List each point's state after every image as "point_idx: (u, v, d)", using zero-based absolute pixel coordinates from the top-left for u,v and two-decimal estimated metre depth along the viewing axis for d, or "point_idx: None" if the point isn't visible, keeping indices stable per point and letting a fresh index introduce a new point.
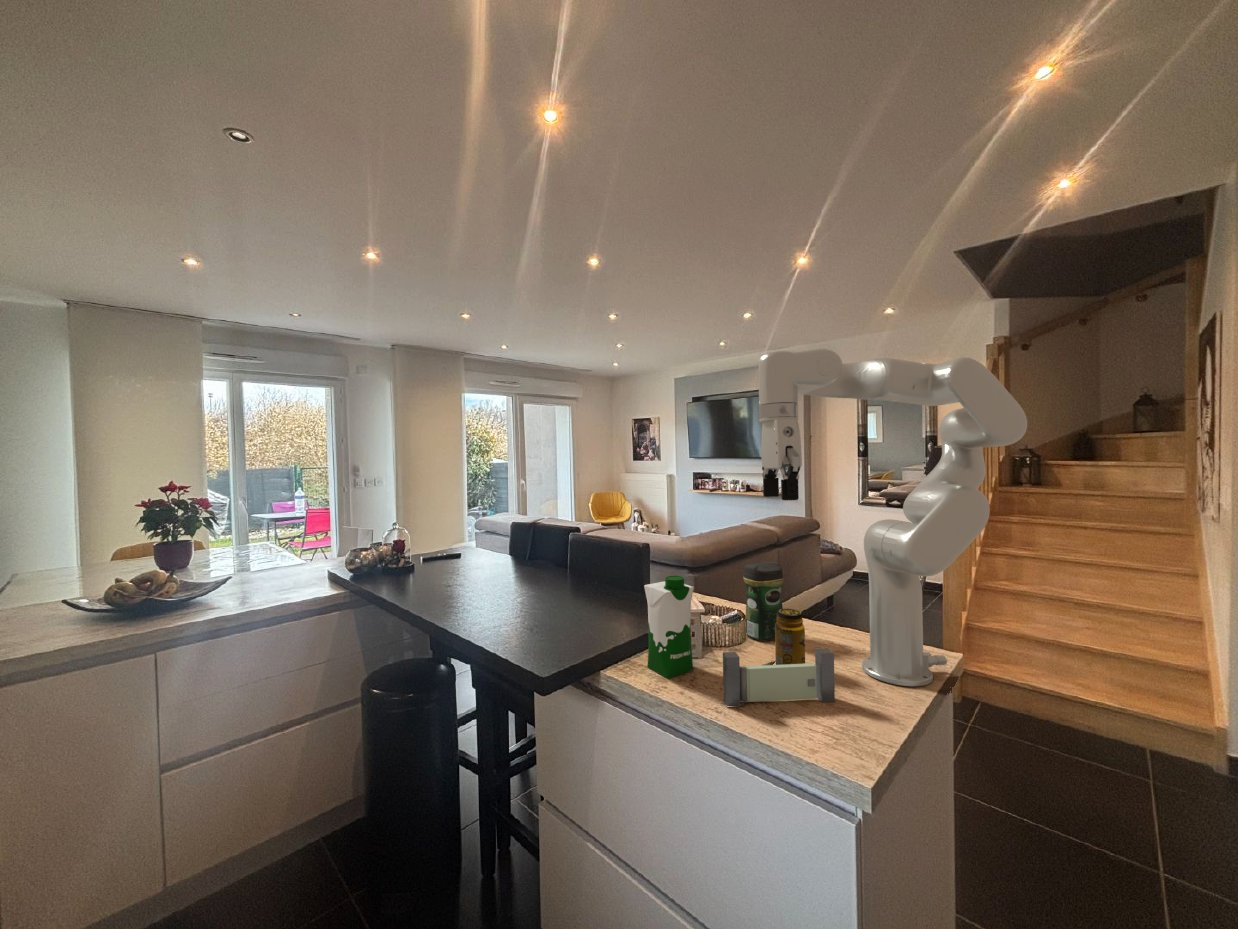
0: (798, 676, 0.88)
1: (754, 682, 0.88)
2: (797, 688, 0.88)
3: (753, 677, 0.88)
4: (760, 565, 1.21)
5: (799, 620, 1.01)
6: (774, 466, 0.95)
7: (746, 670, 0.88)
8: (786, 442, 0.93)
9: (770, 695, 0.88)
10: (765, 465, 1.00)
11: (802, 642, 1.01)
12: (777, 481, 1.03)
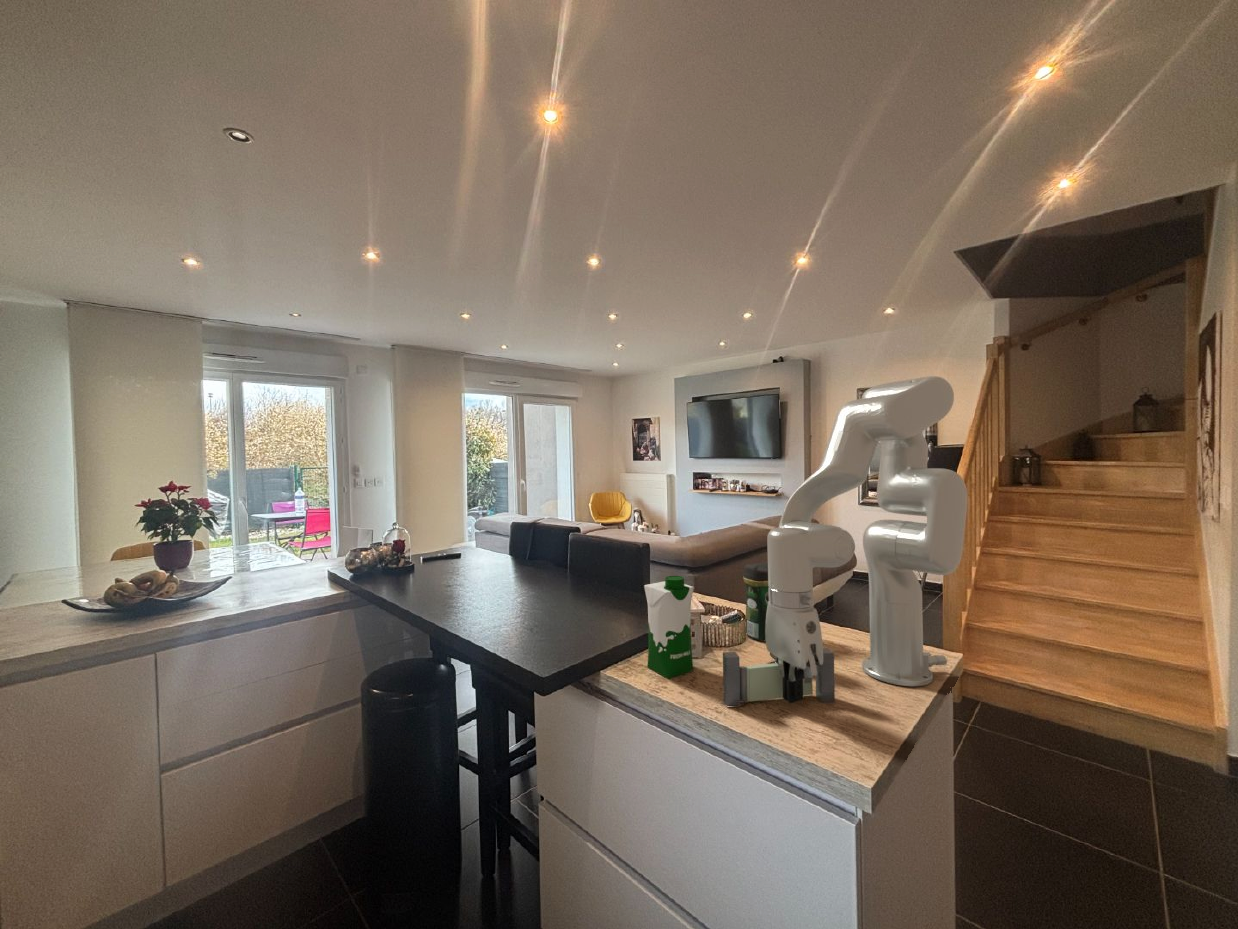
0: None
1: (754, 681, 0.88)
2: None
3: (753, 676, 0.88)
4: (760, 565, 1.21)
5: None
6: (793, 664, 0.83)
7: (746, 670, 0.88)
8: (810, 641, 0.82)
9: (769, 693, 0.89)
10: (774, 653, 0.88)
11: None
12: None
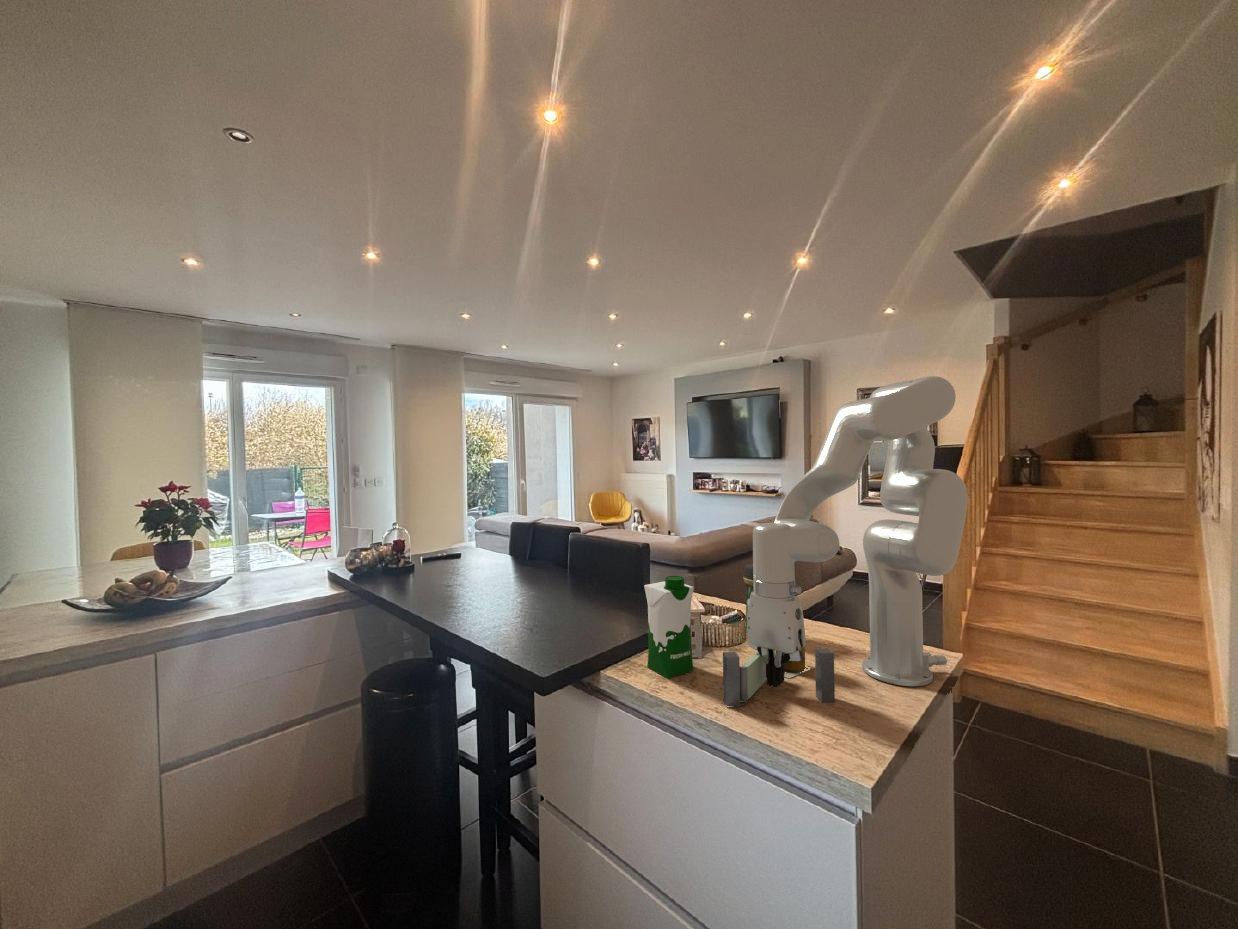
0: None
1: (750, 678, 0.90)
2: (765, 670, 0.96)
3: (749, 673, 0.90)
4: None
5: None
6: (782, 650, 0.89)
7: (746, 669, 0.89)
8: (798, 626, 0.88)
9: (756, 685, 0.92)
10: (758, 642, 0.92)
11: None
12: None
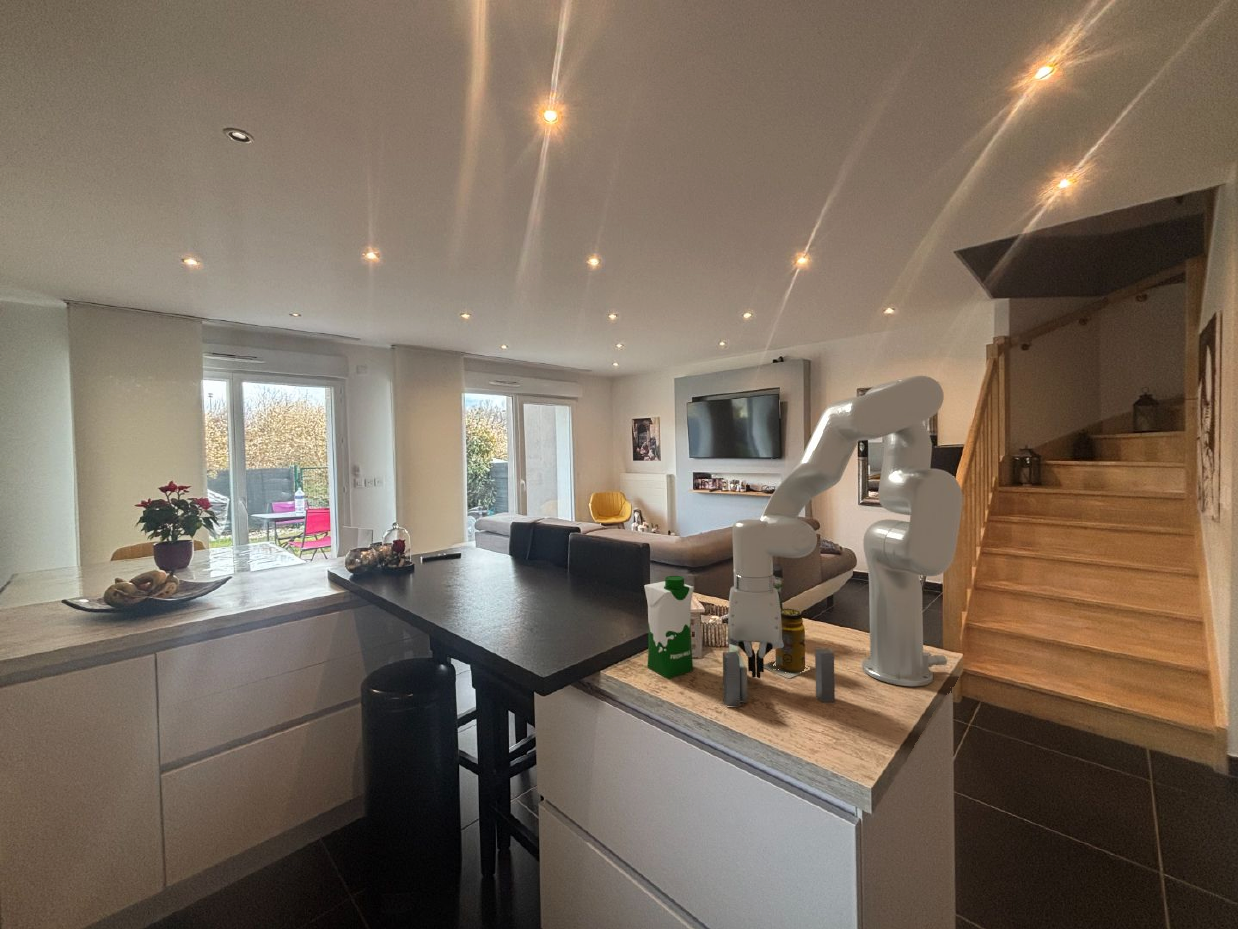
0: None
1: None
2: None
3: None
4: None
5: (798, 620, 1.01)
6: (768, 640, 0.93)
7: None
8: (780, 615, 0.94)
9: None
10: (743, 638, 0.94)
11: (802, 642, 1.01)
12: None
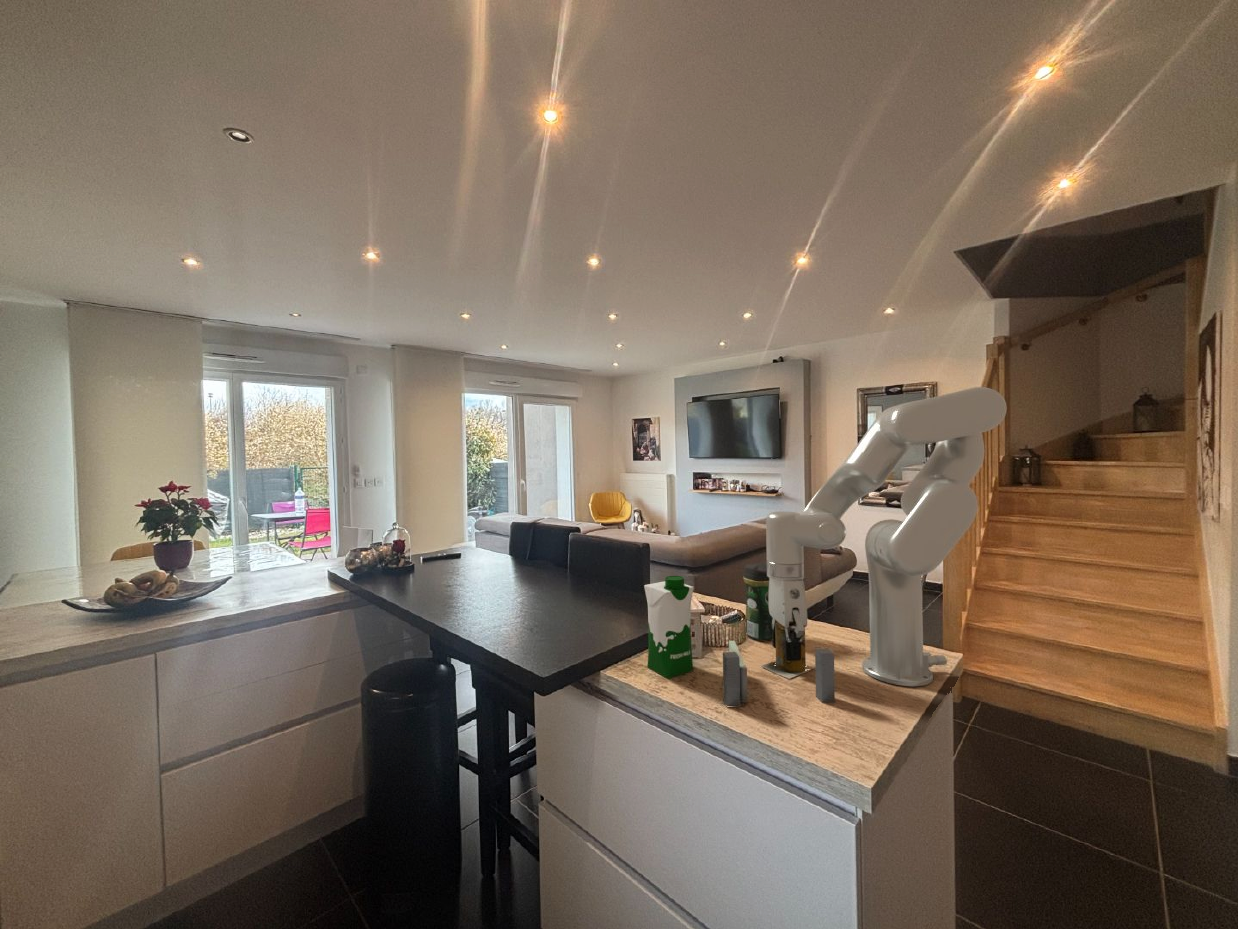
0: None
1: None
2: None
3: None
4: (760, 565, 1.21)
5: None
6: (781, 623, 1.01)
7: None
8: (793, 604, 0.98)
9: None
10: (772, 615, 1.05)
11: (802, 642, 1.01)
12: None
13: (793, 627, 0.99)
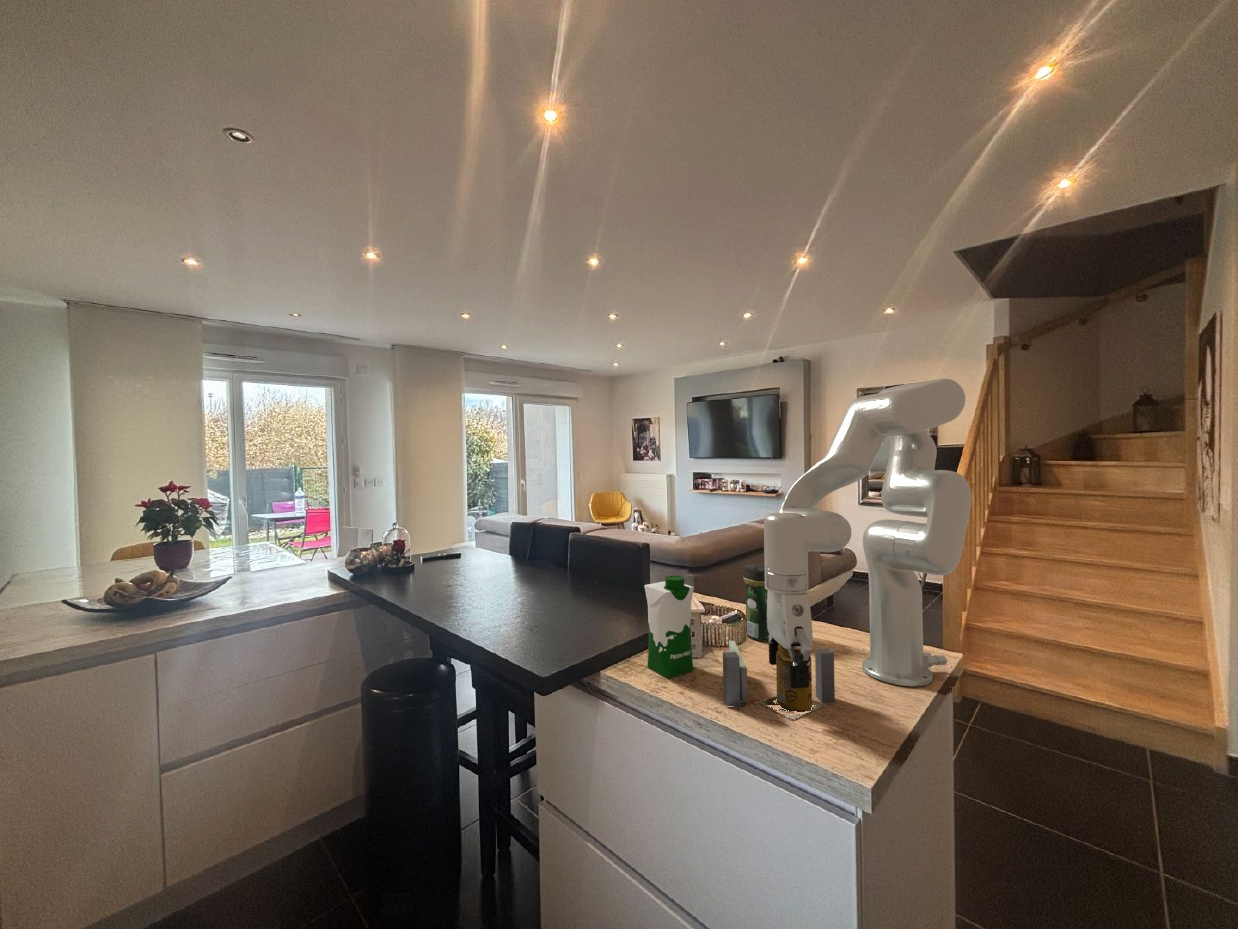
0: None
1: None
2: None
3: None
4: (760, 565, 1.21)
5: None
6: (781, 644, 0.85)
7: None
8: (796, 623, 0.83)
9: None
10: (771, 634, 0.90)
11: None
12: None
13: (798, 647, 0.83)
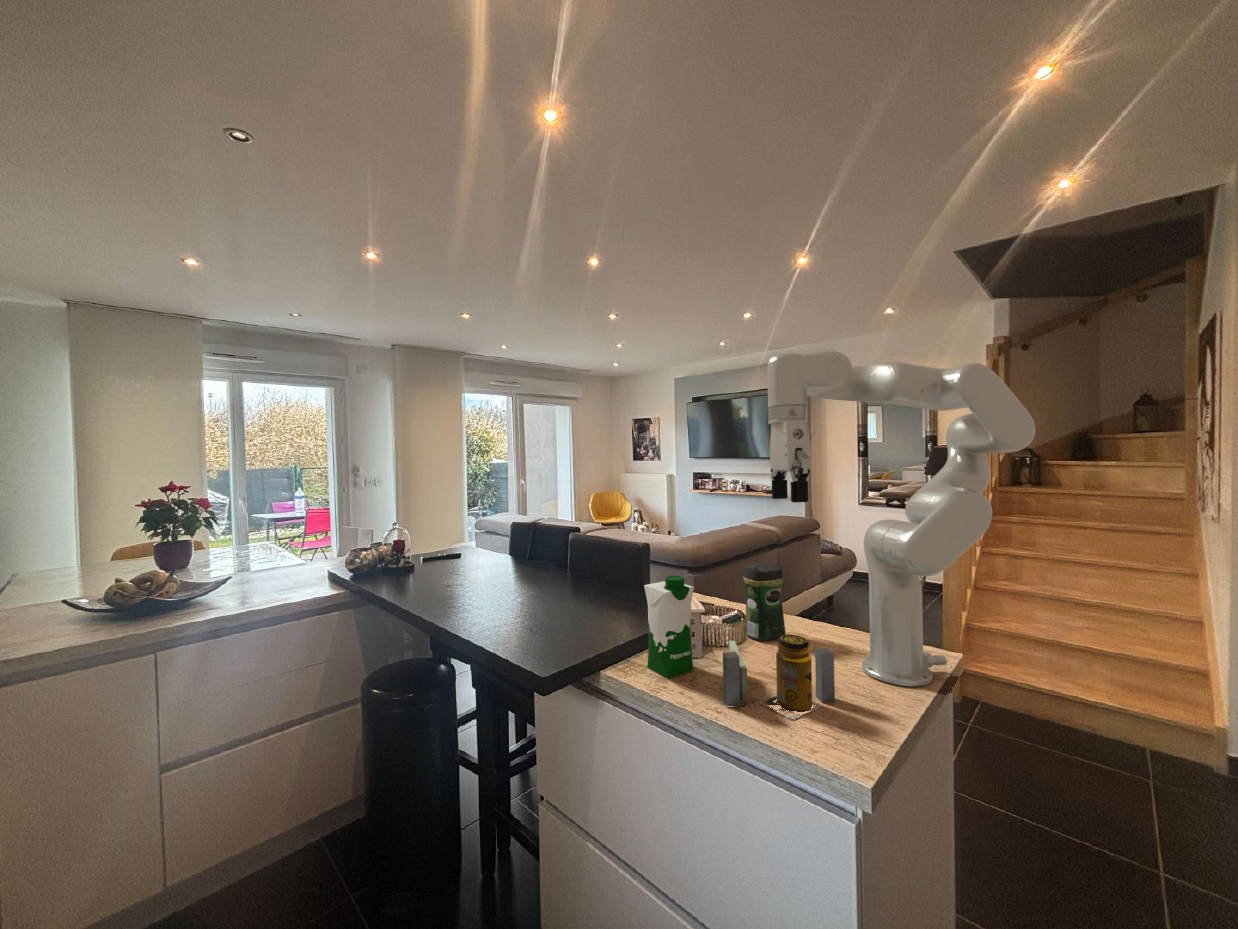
0: None
1: None
2: None
3: None
4: (760, 565, 1.21)
5: (804, 649, 0.85)
6: (783, 468, 0.95)
7: None
8: (796, 445, 0.93)
9: None
10: (774, 467, 1.00)
11: (808, 676, 0.85)
12: (786, 483, 1.03)
13: (798, 467, 0.94)
